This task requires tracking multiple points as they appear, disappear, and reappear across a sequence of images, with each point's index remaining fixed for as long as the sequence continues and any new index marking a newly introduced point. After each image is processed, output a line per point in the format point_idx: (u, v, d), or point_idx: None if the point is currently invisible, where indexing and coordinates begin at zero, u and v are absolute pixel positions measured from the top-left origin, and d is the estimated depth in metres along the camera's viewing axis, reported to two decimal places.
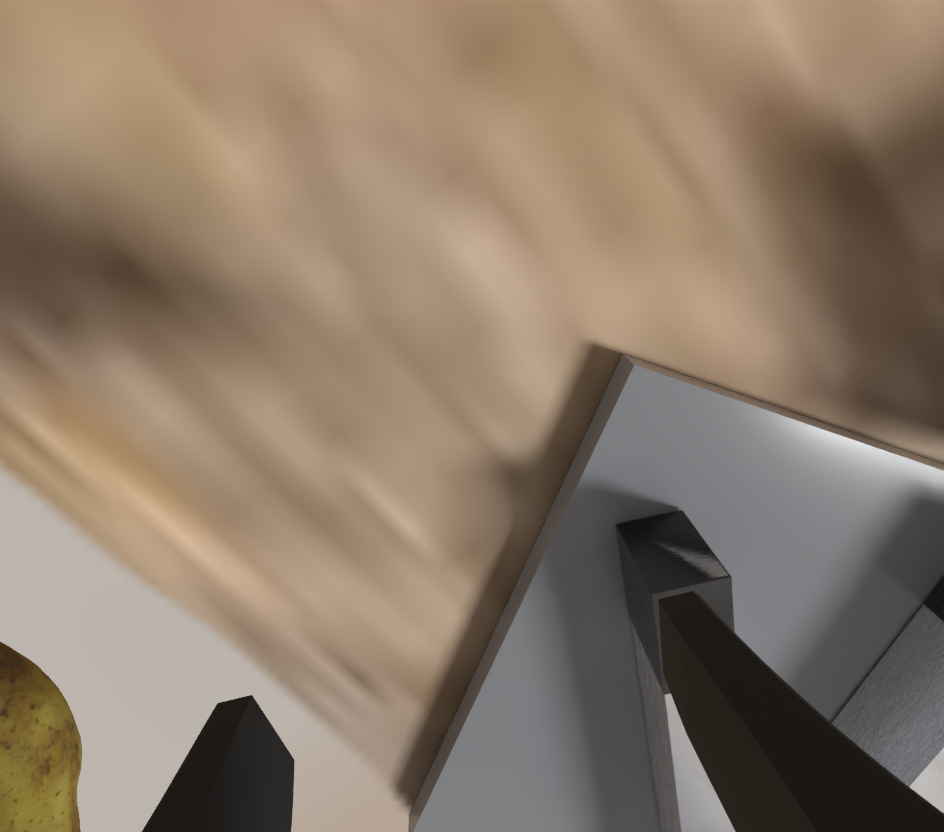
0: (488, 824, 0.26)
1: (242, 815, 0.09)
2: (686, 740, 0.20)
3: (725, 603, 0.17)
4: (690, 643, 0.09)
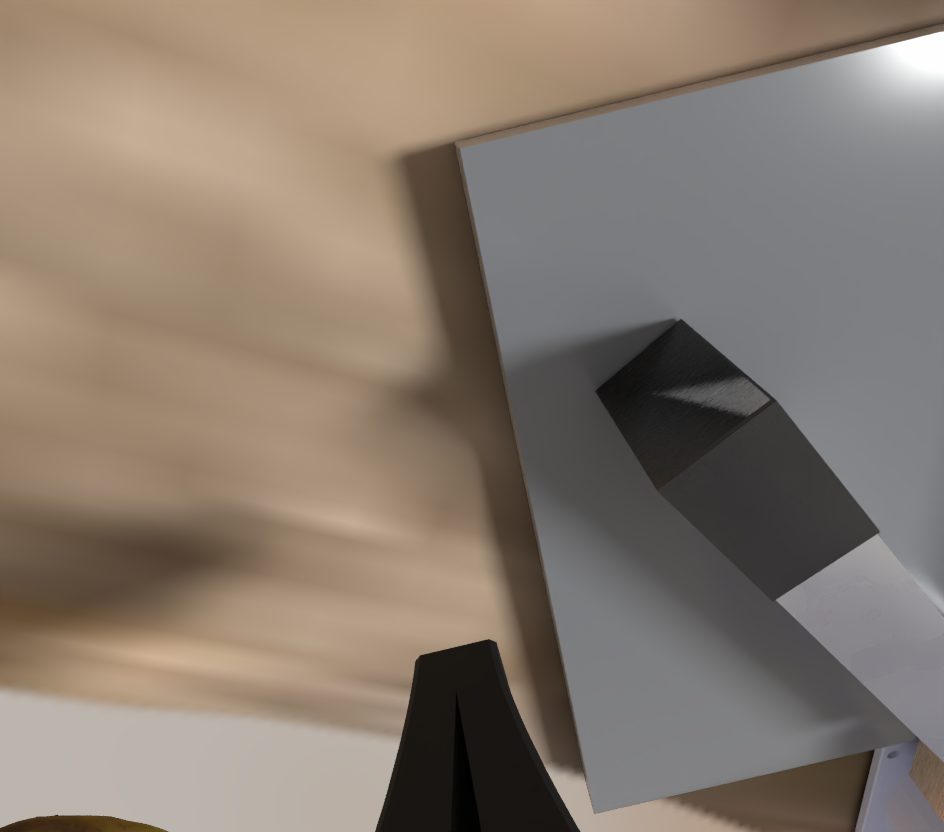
0: (672, 766, 0.21)
1: (469, 762, 0.09)
2: (847, 634, 0.12)
3: (791, 441, 0.10)
4: (460, 697, 0.09)
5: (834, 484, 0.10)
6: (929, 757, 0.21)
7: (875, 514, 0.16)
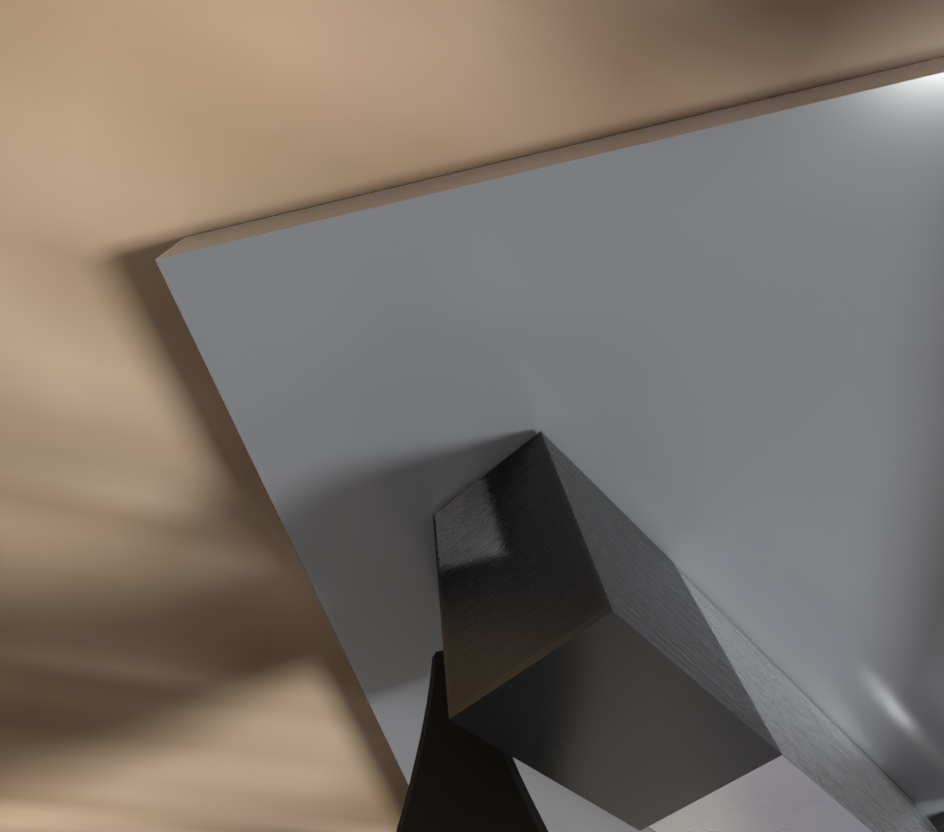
0: None
1: None
2: None
3: (642, 660, 0.07)
4: (438, 702, 0.09)
5: (712, 705, 0.07)
6: None
7: (790, 661, 0.13)
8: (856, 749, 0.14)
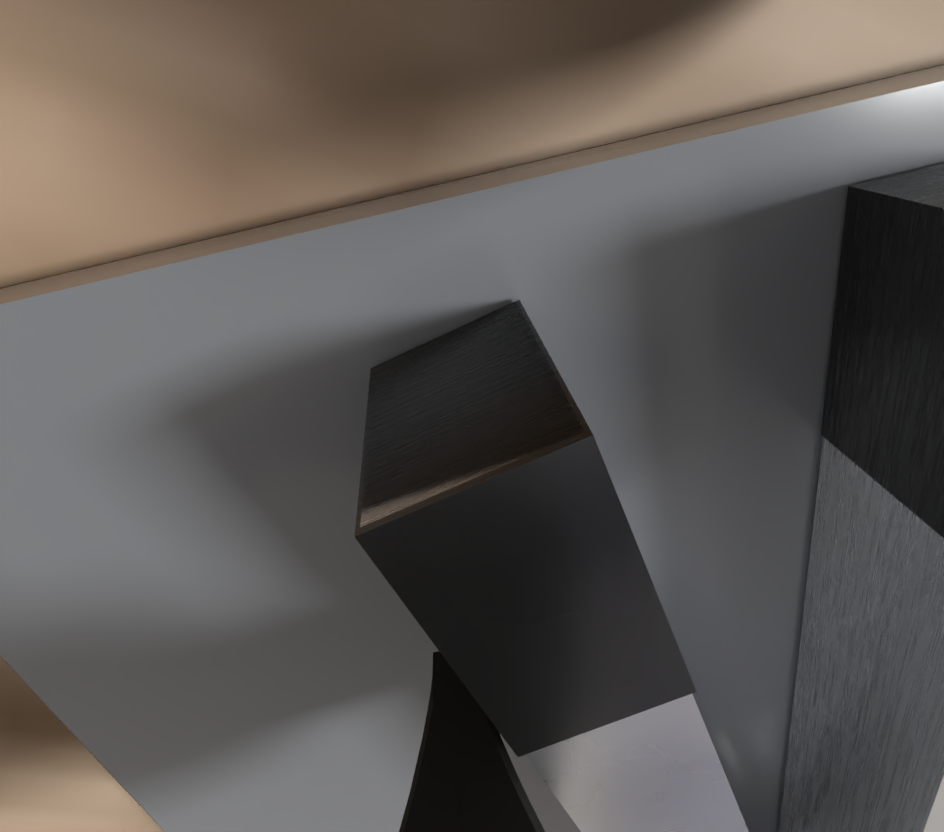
0: None
1: None
2: (613, 819, 0.08)
3: (600, 516, 0.06)
4: (435, 703, 0.09)
5: (650, 604, 0.06)
6: None
7: None
8: None
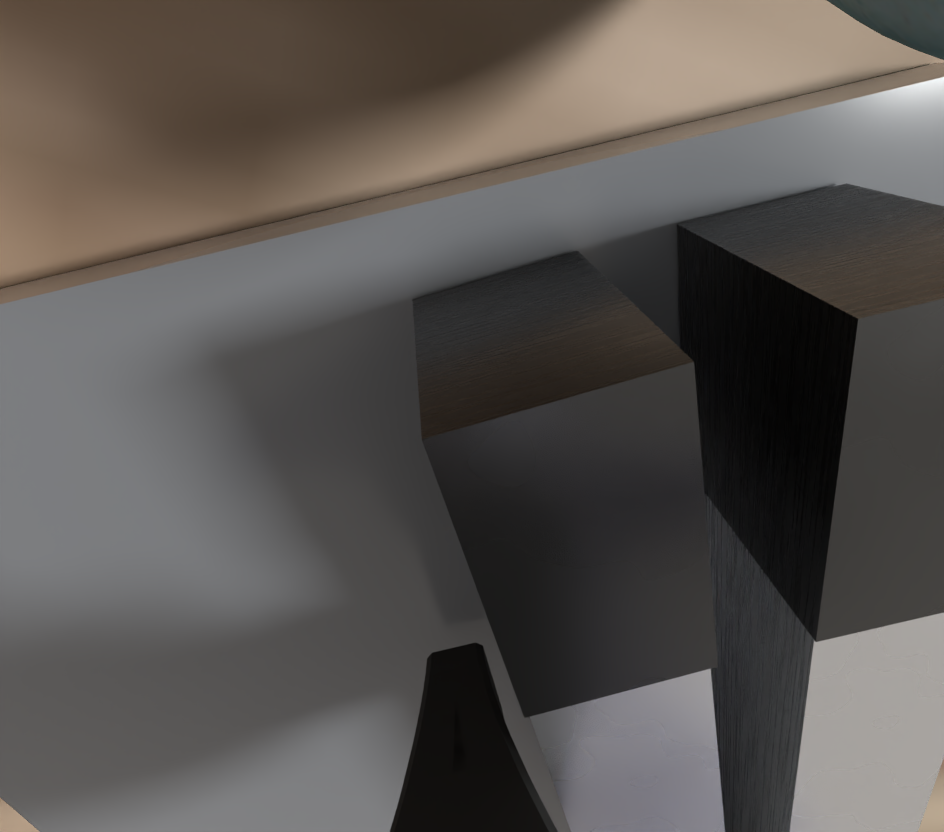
0: None
1: None
2: (599, 800, 0.08)
3: (677, 456, 0.05)
4: (444, 701, 0.09)
5: (699, 563, 0.06)
6: None
7: None
8: None
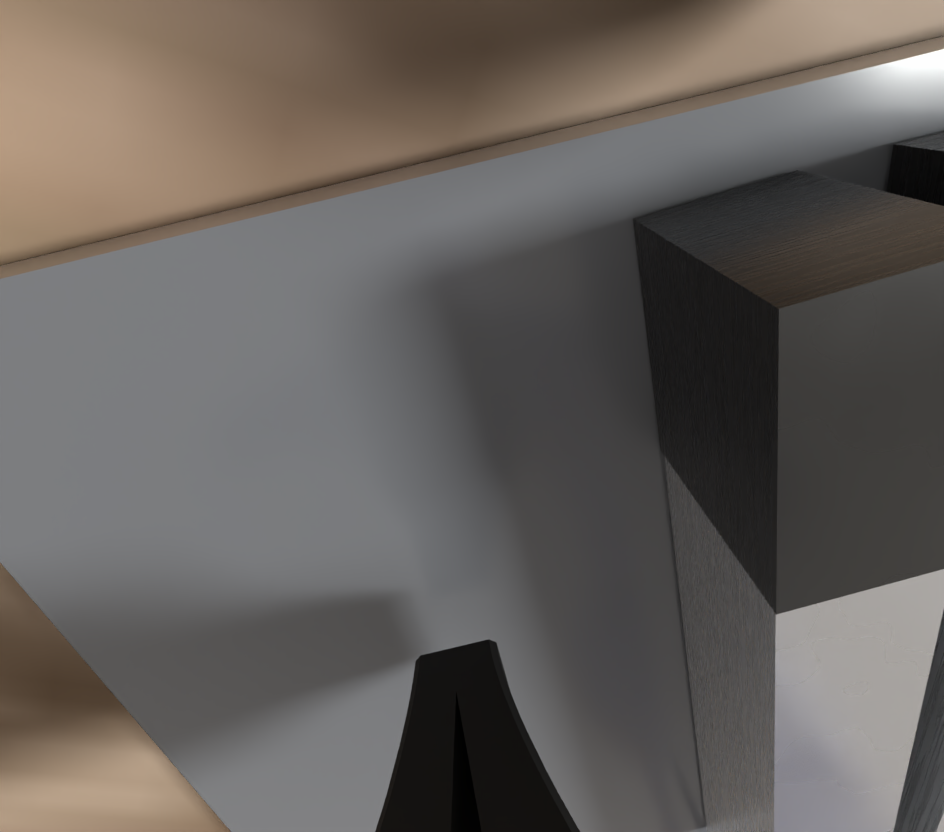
0: None
1: (469, 762, 0.09)
2: (811, 708, 0.08)
3: None
4: (460, 697, 0.09)
5: None
6: None
7: (569, 685, 0.13)
8: None
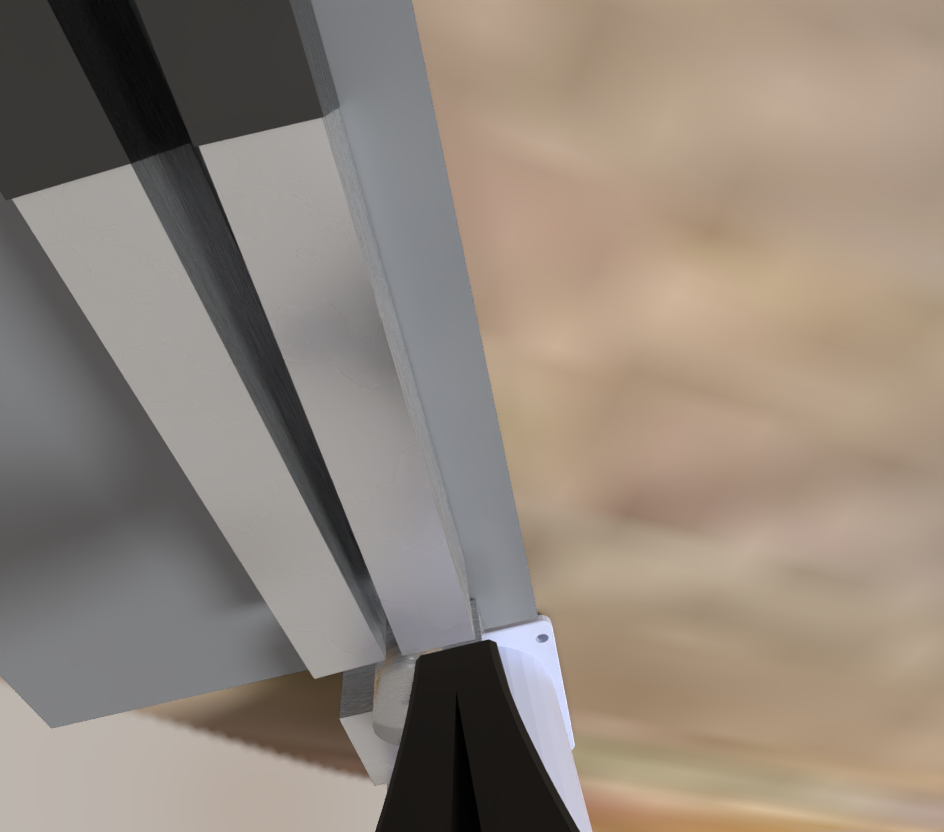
0: (102, 679, 0.22)
1: (469, 762, 0.09)
2: (114, 314, 0.12)
3: None
4: (460, 697, 0.09)
5: (67, 53, 0.09)
6: None
7: (126, 413, 0.17)
8: None
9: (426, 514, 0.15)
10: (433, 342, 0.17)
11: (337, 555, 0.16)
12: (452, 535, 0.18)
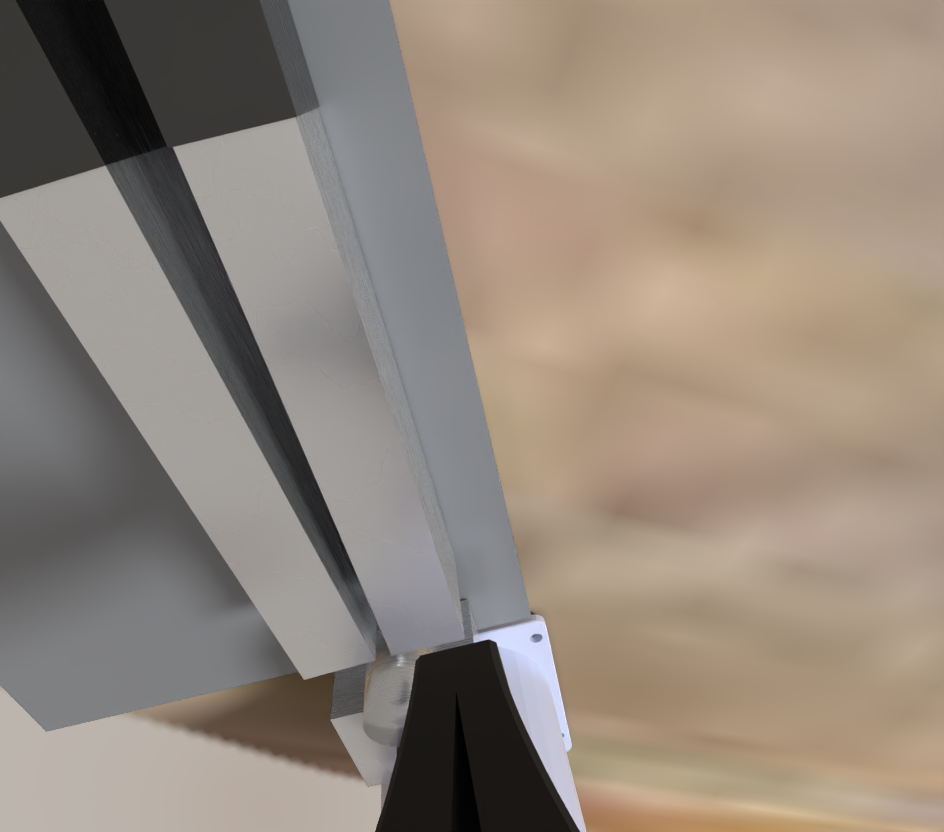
0: (96, 682, 0.22)
1: (469, 762, 0.09)
2: (93, 316, 0.12)
3: None
4: (460, 697, 0.09)
5: (39, 55, 0.09)
6: None
7: (114, 416, 0.17)
8: None
9: (411, 513, 0.15)
10: (419, 342, 0.17)
11: (324, 555, 0.16)
12: (441, 535, 0.18)
